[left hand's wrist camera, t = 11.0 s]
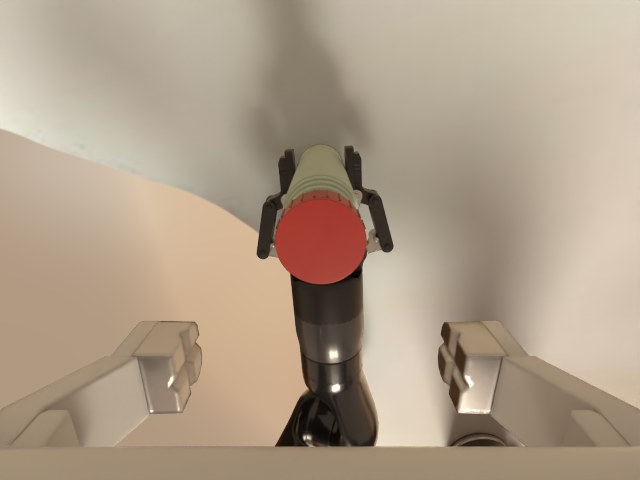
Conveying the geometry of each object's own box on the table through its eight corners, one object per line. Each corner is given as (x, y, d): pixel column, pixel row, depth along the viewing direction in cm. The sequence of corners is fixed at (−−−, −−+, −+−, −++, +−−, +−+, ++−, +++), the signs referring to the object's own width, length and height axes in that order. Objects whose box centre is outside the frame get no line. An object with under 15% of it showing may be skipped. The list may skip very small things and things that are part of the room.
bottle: (323, 134, 39) (326, 172, 17) (351, 169, 40) (388, 245, 18) (289, 164, 40) (252, 235, 18) (318, 197, 41) (315, 300, 19)
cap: (325, 170, 18) (325, 177, 17) (380, 235, 20) (386, 248, 18) (260, 226, 19) (254, 238, 18) (316, 284, 21) (316, 301, 19)
